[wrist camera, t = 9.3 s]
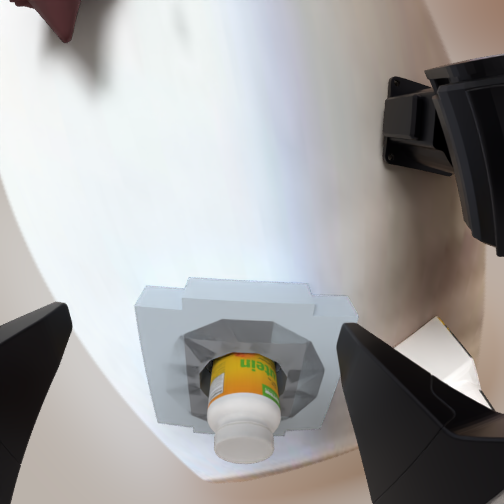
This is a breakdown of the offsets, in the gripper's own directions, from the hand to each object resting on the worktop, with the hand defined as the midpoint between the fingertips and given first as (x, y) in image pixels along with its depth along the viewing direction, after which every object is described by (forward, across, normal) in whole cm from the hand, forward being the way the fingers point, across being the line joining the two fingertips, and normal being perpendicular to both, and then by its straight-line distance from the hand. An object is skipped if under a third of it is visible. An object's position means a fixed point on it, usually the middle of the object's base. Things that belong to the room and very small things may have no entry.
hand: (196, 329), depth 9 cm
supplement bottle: (+13, -2, +13) cm, 19 cm away
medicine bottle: (+13, -20, +13) cm, 27 cm away
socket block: (+13, -2, +13) cm, 18 cm away
